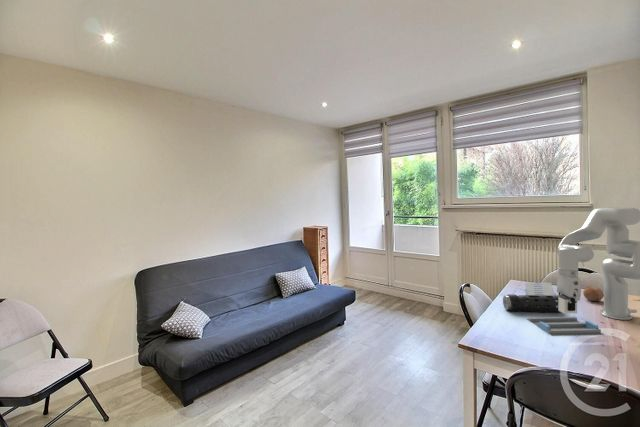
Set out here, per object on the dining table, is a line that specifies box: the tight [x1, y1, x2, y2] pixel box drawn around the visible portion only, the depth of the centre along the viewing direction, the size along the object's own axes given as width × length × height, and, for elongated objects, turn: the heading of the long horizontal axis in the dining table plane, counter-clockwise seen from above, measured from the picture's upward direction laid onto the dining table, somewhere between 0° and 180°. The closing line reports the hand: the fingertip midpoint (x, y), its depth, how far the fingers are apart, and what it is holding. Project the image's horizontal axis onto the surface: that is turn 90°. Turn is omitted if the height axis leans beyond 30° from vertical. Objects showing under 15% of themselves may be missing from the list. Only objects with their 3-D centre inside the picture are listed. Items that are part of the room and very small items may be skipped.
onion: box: [582, 285, 604, 303], centre depth 189 cm, size 10×9×10 cm
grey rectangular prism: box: [557, 294, 578, 315], centre depth 150 cm, size 6×4×8 cm, turn 87°
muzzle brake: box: [502, 294, 561, 313], centre depth 175 cm, size 10×28×10 cm, turn 78°
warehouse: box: [525, 281, 556, 296], centre depth 198 cm, size 30×14×8 cm, turn 146°
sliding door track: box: [526, 316, 605, 337], centre depth 154 cm, size 24×20×4 cm
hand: (567, 308), depth 150 cm, fingers closed on grey rectangular prism, 4 cm apart
